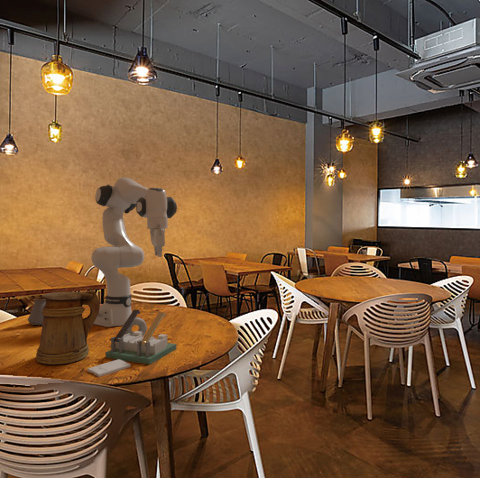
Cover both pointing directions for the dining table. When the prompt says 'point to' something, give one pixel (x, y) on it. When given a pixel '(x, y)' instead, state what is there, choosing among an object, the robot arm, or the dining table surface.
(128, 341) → the board
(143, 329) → the donut
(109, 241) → the robot arm
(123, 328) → the dark grey long bar
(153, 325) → the strap brass
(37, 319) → the coffee pot
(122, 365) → the external hard drive
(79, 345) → the tankard
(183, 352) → the dining table surface
